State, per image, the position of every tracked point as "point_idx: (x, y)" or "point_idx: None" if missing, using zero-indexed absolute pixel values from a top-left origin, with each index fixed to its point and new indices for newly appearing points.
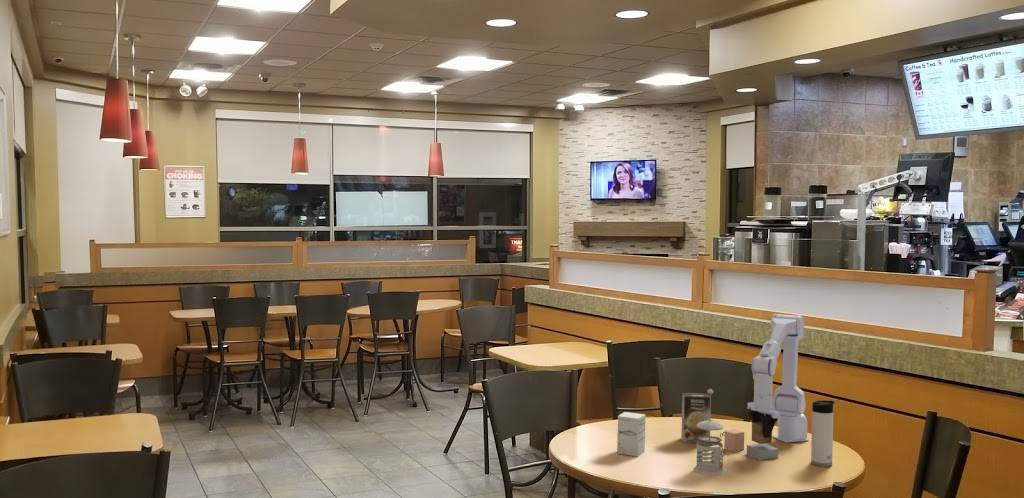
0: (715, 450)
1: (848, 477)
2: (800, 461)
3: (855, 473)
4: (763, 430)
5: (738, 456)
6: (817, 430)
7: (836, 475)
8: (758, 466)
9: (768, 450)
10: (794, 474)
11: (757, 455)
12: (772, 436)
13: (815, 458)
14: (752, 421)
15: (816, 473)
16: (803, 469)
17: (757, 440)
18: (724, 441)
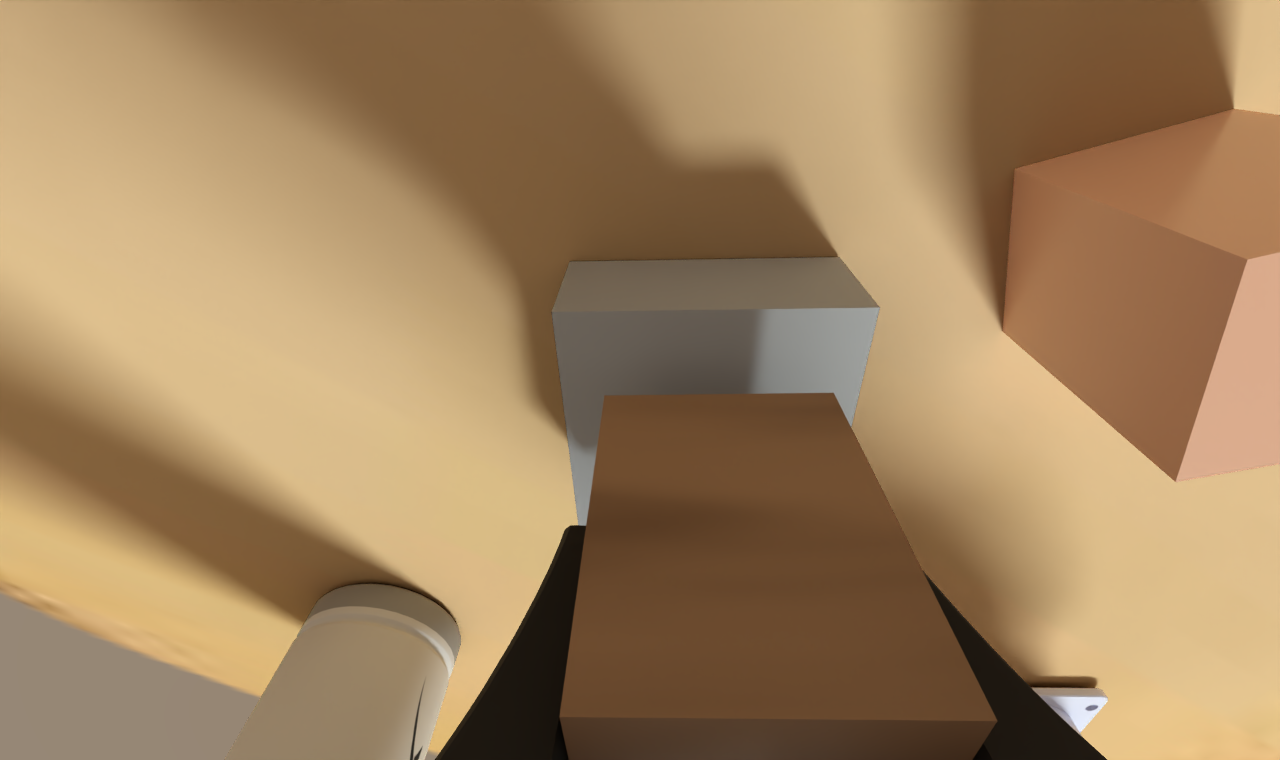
0: None
1: (59, 603)
2: (465, 553)
3: (174, 664)
4: (561, 631)
5: (803, 80)
6: None
7: (91, 571)
8: (291, 82)
9: (567, 428)
10: (14, 314)
11: (604, 278)
12: (1101, 692)
13: (320, 632)
14: (1053, 754)
15: (112, 491)
16: (223, 466)
17: (672, 418)
18: None
